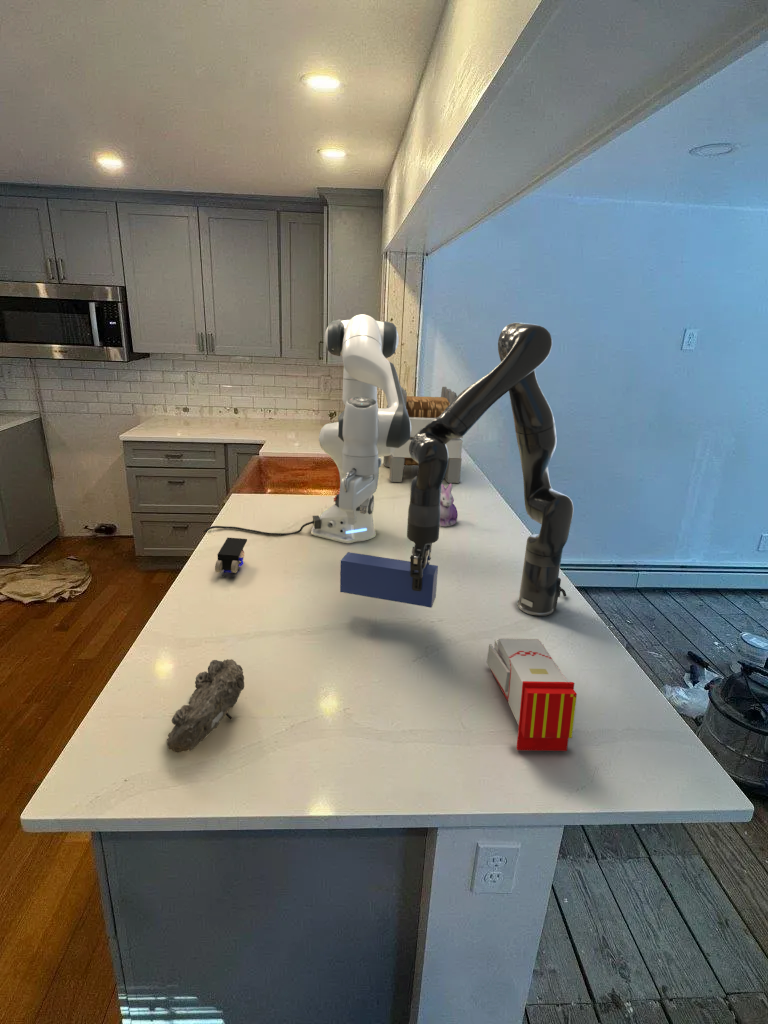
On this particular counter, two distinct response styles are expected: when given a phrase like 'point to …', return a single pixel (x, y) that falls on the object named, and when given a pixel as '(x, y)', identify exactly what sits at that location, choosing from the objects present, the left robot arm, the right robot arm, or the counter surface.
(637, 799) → the counter surface
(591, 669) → the counter surface
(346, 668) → the counter surface
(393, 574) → the block
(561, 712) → the toy
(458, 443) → the transformer
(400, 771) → the counter surface
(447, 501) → the figurine
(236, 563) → the figurine character
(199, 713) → the fossil
